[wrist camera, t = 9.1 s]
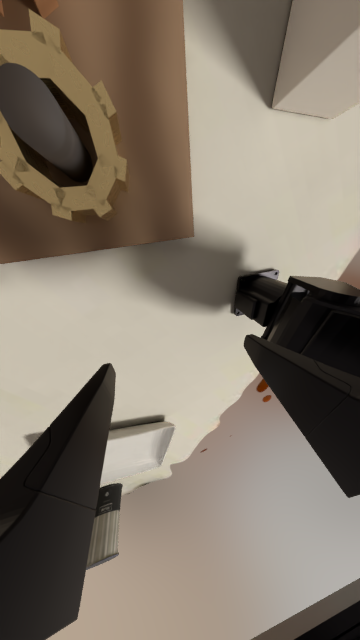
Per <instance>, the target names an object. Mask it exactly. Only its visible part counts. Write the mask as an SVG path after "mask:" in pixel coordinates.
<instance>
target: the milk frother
mask: <svg viewBox="0 0 360 640" xmlns="http://www.w3.org/2000/svg"><path fill="white" fill-rule="evenodd" d="M122 486H123V485H122V484H113V485H109V486H106V487H104V488H101V489H99V494H98V500H97V506H96V509H95V510H96V512H95V518H94V524H93V530H92V536H91V542H90V548H89V554H88V560H87V566H86V570H87V569H90V568H93V567H95V566H98V565H100V564H102V563H104V562H106V561H109V560H111V559H113V558H115V557H116V556H118V554H119V553H118V548H117V547H118V531H119V516H120V501H121V491H122Z"/></svg>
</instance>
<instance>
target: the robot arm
mask: <svg viewBox="0 0 360 640" xmlns="http://www.w3.org/2000/svg"><path fill="white" fill-rule="evenodd" d="M278 275H279V271H278V270H270V271H265V272H260V273H255V274H249V275H244V276H240V277H239V278H238V283H237V292H236V297H235V309H234V314H235V315H236V316H239V315H243V314H245V315H246V316H247V317H248V318H250V319H251V320H252V319H253V320H255V321H256V322H257V323H259V324H260V325H261V326H263V327H266V326H267V327H266V329H265V331H264V333H263V336H261V338H260V337H257V336H255V335H253V334H250V335H246V337H245V341H244V348H245V349H246V351H247V353H248V355H249V357H250V358H251V360H252V362H253V364H254V365H255V367H256V368H257V370H258V371H259V373H260V374H261V375H262V377H263V378H264V380H265V381H266V383H267V384H268V385H269V387H270V388H271V390H272V391H273V392H274V394H275V395H276V397H277V398H278V399H279V401H280V402H281V404H282V405H283V406H284V408H285V409H286V411H287V412H288V414H289V415H290V417H291V418H292V419H293V421H294V422H295V424H296V425H297V426H298V428H299V429H300V431H301V432H302V434H303V435H304V436H305V438H306V439H307V441H308V442H309V443H310V445H311V447H312V448H313V449H314V451H315V452H316V453H317V455H318V456H319V458H320V459H321V461H322V462H323V464H324V465H325V466H326V468H327V469H328V471H329V472H330V473H331V475H332V476H333V478H334V479H335V481H336V482H337V483H338V485H339V486H340V488H341V489H342V490H343V492H344V493H345V494H346V496H347V497H348V498H350V497H353V496H357V495H360V290H359V289H357V288H355V287H353V286H351V285H349V284H347V283H345V282H340V281H336V280H331V279H326V278H321V277H302V276H290V277H289V279H288V284H287V283H284V282H281V281H278V280H277V279H278ZM241 279H242V281H241ZM237 312H238V313H237ZM115 378H116V374H115V370H114V368H113V366H112V364H111V363H107V364H103V365H102V366H101V367H100V369H99V370H98V371H97V372H96V373H95V374H94V375H93V377H92V378H91V379H90V380H89V381H88V382H87V383H86V385H85V386H84V387H83V388H82V389H81V390H80V391H79V393H78V394H77V395H76V396H75V397H74V398H73V399H72V401H71V402H70V403H69V404H68V405H67V406H66V407H65V409H64V410H63V411H62V412H61V413H60V414H59V415H58V417H57V418H56V419H55V420H54V421H53V422H52V423H51V425H50V427H48V428H47V429H46V430H45V431H44V433H43V434H42V435H41V436H40V437H39V438H38V439H37V440H36V442H35V443H34V444H33V445H32V446H31V447H30V448H29V449H28V450H27V452H26V453H25V454H24V455H23V456H22V457H21V458H20V459H19V460H18V461H17V462H16V463H15V464H14V465H13V466H12V467H11V468H10V469H9V470H8V471H7V473H6V474H5V475H4V476H3V477H2V478H1V479H0V640H46V639H47V638H49V637H50V636H52V635H54V634H55V633H57V632H58V631H60V630H61V629H63V628H64V627H66V626H68V625H69V624H71V623H72V622H74V621H75V620H77V617H78V612H79V607H80V601H81V595H82V590H83V584H84V577H85V572H86V566H87V560H88V554H89V548H90V542H91V536H92V530H93V524H94V518H95V512H96V510H95V509H96V506H97V500H98V494H99V488H100V482H101V476H102V470H103V464H104V458H105V452H106V447H107V441H108V435H109V429H110V423H111V417H112V411H113V405H114V396H115ZM251 640H360V578H359V579H357V580H356V581H354V582H352V583H350V584H349V585H347V586H345V587H343V588H342V589H340V590H338V591H336V592H334V593H333V594H331V595H329V596H327V597H326V598H324V599H322V600H320V601H319V602H317V603H315V604H313V605H311V606H310V607H308V608H306V609H304V610H302V611H301V612H299V613H297V614H295V615H293V616H292V617H290V618H288V619H286V620H285V621H283V622H281V623H279V624H277V625H276V626H274V627H272V628H271V629H269V630H267V631H265V632H263V633H261V634H260V635H258V636H257V637H254V638H253V639H251Z"/></svg>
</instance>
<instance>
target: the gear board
mask: <svg viewBox="0 0 360 640" xmlns="http://www.w3.org/2000/svg"><path fill="white" fill-rule="evenodd" d="M29 9H30V10H32V11H33V12H35V13H36V14H38V15H39V16H41V17H42V18H44V19H45V20H47V21H48V22H50V23H51V24H53V25H54V26H56V27H57V28H59V29H60V32H61V34H62V37H63V39H64V42H65V45H66V47H67V50H68V52H69V55H70V57H71V60H72V62H73V65H74V66H75V67H76V68H77V69H78V71H79V72H80V73H81V74H82V75H83V76H84V78H85V79H86V80H87V81H88V82H89V83H90V85H91V86H92V87H94V86H95V85H96V84H97V83H99V82H100V81H102V83H103V85H104V87H105V89H106V91H107V93H108V95H109V97H110V99H111V101H112V104H113V106H114V108H115V110H116V112H117V117H118V122H119V128H120V133H121V138H122V141H121V142H120V143H118V144H117V145H116V148H117V152H118V156H120V157H122V158H124V159H126V160H127V164H128V169H129V175H130V178H129V190H128V192H126V191H123V190H121V191H120V193H119V195H118V197H117V200H116V202H115V204H114V206H113V207H114V209H115V210H116V212H117V213H118V214H117V215H115V216H114V217H112V218H111V219H110V220H108V221H107V220H105V219H102V218H100V217H99V216H98V214H97V215H87V216H85V221H86V223H81V222H76V221H71V220H68V219H65V218H61V217H58V216H55V215H52V207H51V204H50V203H48V202H47V201H45V200H42V199H39V198H36V197H33V196H30V195H27V194H25V193H22V192H19V191H16V190H15V189H14V188H13V187H12V186H11V185H10V184H9V183H8V182H7V181H6V180H5V178H4V177H3V176H2V175H1V174H0V264H5V263H12V262H19V261H26V260H33V259H40V258H47V257H54V256H61V255H68V254H75V253H82V252H89V251H97V250H104V249H111V248H118V247H125V246H132V245H139V244H146V243H153V242H160V241H167V240H174V239H181V238H189V237H194V227H193V206H192V185H191V164H190V143H189V123H188V102H187V81H186V60H185V39H184V18H183V0H0V29H2V30H18V31H31V25H30V16H29ZM0 111H1V113H2V115H3V117H4V119H5V120H6V122H7V123H8V125H9V126H10V127H11V129H12V130H13V131H14V132H15V133H16V134H17V135H18V136H19V137H20V138H21V139H22V140H23V141H24V142H26V143H27V144H28V145H29V146H31V147H32V148H33V149H34V150H36V151H37V152H38V153H39V154H41V155H42V156H43V158H44V160H45V162H46V165H47V167H48V169H49V171H50V174H51V176H52V178H53V180H55V181H56V182H57V183H59V184H60V185H61V186H62V187H75V186H87V184H88V182H89V179H90V177H91V174H92V172H93V170H94V167H95V165H96V162H97V160H98V157H97V153H96V150H95V146H94V143H93V139H92V137H91V136H90V135H89V134H88V133H87V132H86V131H85V130H84V129H83V128H82V127H81V126H80V125H79V124H78V123H77V122H76V121H75V120H74V119H67V117H66V115H65V114H64V112H63V111H62V109H61V108H60V106H59V104H58V103H57V101H56V100H55V98H54V96H53V95H52V93H51V92H50V90H49V89H48V88H47V86H46V85H45V84H44V83H43V81H42V80H41V79H40V78H39V77H38V76H37V75H36V74H34V73H33V72H32V71H31V70H29V69H27V68H26V67H24V66H22V65H20V64H16V63H5V64H2V65H1V66H0ZM0 162H1V160H0Z"/></svg>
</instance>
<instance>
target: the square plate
mask: <svg viewBox="0 0 360 640" xmlns="http://www.w3.org/2000/svg"><path fill="white" fill-rule="evenodd" d="M175 430H176V426H175V425H174V424H172V423H170V422H156V423H150V424H143V425H137V426H131V427H125V428H119V429H113V430H109V435H108V441H107V447H106V452H105V458H104V464H103V470H102V476H101V482H100V484H104V483H108V482H112V481H116V480H119V479H123V478H126V477H130V476H133V475H136V474H139V473H143V472H146V471H149V470H152V469H155V468H159V467H161V466H162V463H163V461H164V458H165V455H166V453H167V450H168V448H169V445H170V443H171V440H172V438H173V435H174V432H175Z"/></svg>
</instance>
